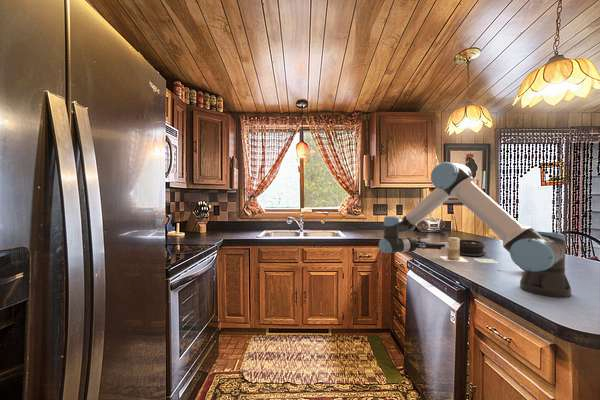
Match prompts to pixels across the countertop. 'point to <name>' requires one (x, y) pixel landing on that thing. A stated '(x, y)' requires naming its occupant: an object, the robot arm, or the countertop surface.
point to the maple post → (454, 248)
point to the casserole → (471, 248)
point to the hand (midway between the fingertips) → (438, 242)
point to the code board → (453, 260)
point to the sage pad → (486, 260)
